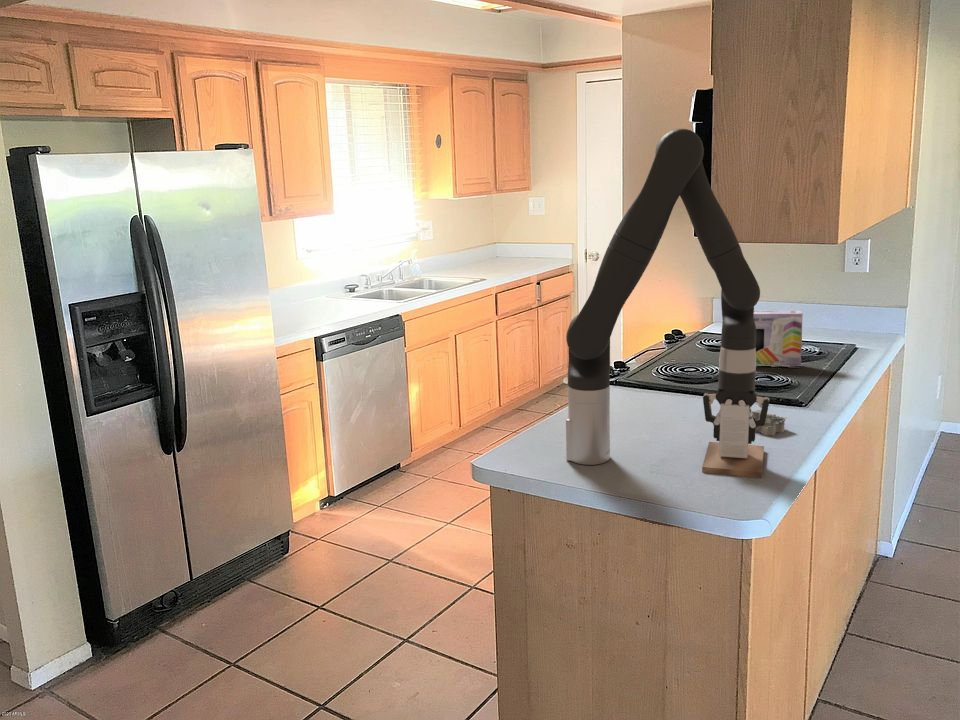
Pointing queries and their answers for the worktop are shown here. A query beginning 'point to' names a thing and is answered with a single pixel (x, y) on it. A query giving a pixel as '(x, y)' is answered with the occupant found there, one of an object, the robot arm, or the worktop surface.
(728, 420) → the skincare box
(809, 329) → the worktop surface
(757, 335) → the cake pan box
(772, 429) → the egg carton
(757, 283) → the robot arm
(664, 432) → the worktop surface
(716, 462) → the wooden board
